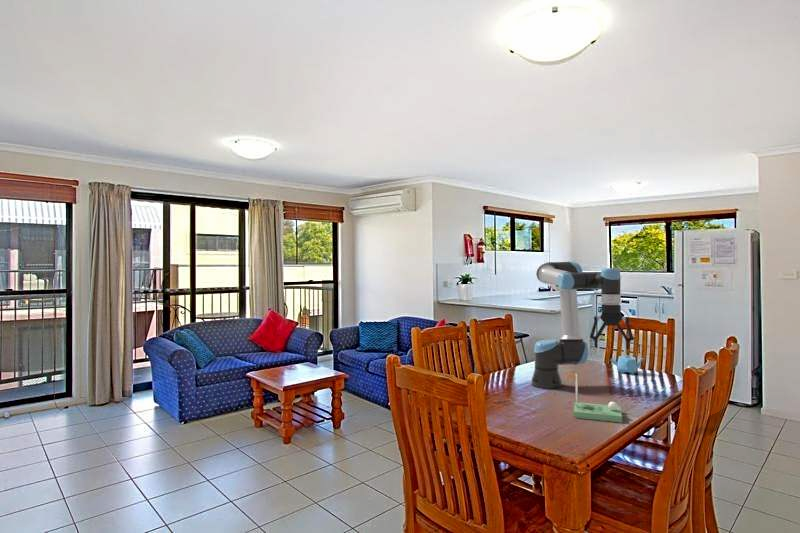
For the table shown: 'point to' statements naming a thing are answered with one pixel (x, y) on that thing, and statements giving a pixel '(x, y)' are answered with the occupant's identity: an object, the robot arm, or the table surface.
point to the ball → (612, 406)
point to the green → (594, 409)
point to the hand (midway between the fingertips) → (611, 355)
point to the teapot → (627, 364)
